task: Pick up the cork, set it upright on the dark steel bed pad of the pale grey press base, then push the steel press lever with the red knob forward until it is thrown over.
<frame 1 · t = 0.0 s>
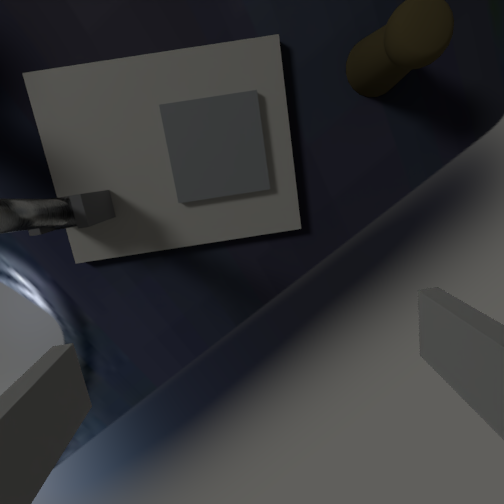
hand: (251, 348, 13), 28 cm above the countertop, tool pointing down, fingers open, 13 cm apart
cork: (372, 67, 37), on the countertop
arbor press: (164, 158, 38), on the countertop
press lever: (6, 215, 24), point 15 cm above the countertop, hinge at -5.0°
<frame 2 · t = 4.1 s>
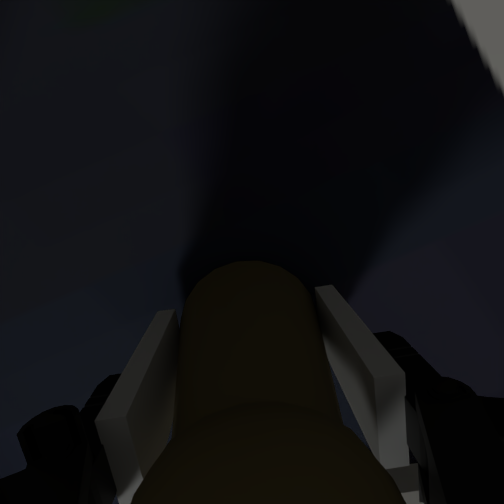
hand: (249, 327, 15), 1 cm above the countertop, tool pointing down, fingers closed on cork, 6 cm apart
cork: (249, 324, 15), point 1 cm above the countertop, touching gripper
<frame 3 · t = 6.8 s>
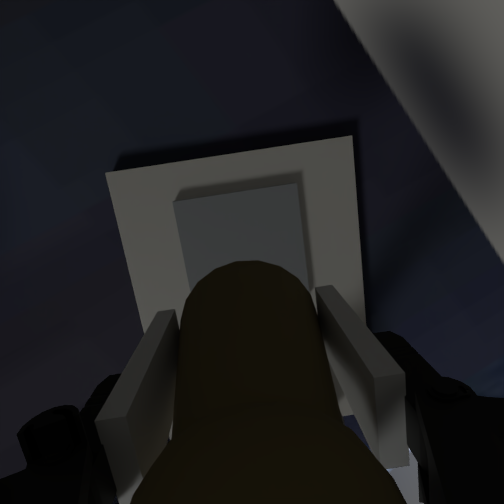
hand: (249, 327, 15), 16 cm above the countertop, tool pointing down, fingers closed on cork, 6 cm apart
cork: (249, 324, 15), point 16 cm above the countertop, touching gripper
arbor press: (253, 308, 32), on the countertop
when the fingers open (4 cm above the countertop, at t = 9.3 s): cork drops 1 cm, resting on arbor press.
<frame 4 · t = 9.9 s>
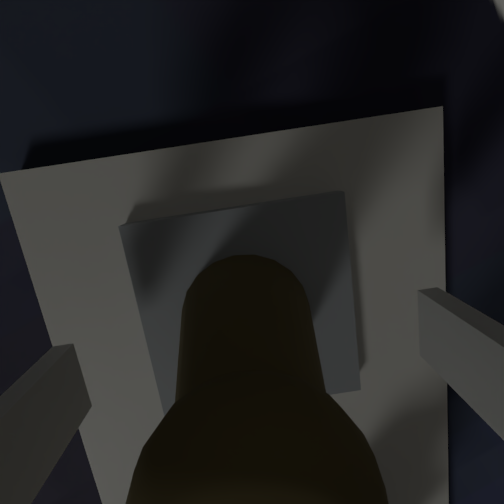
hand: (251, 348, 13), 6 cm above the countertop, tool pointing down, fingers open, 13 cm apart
cork: (246, 314, 16), point 2 cm above the countertop, touching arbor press
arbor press: (262, 391, 20), on the countertop
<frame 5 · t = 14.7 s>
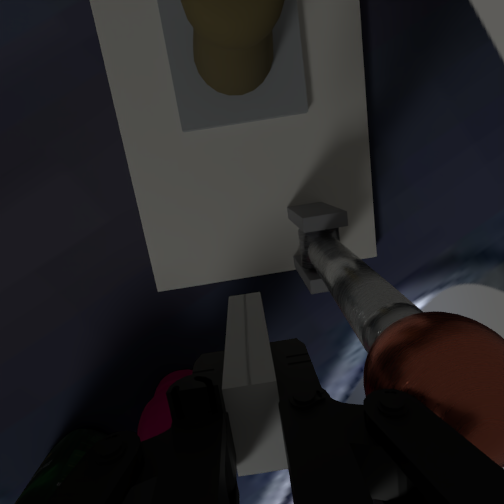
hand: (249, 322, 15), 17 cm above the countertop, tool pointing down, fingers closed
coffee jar: (87, 460, 36), on the countertop
cork: (233, 53, 26), point 2 cm above the countertop, touching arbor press
pepper mill: (186, 394, 35), on the countertop
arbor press: (246, 137, 29), on the countertop
press lever: (353, 284, 17), point 15 cm above the countertop, hinge at -2.8°, touching gripper
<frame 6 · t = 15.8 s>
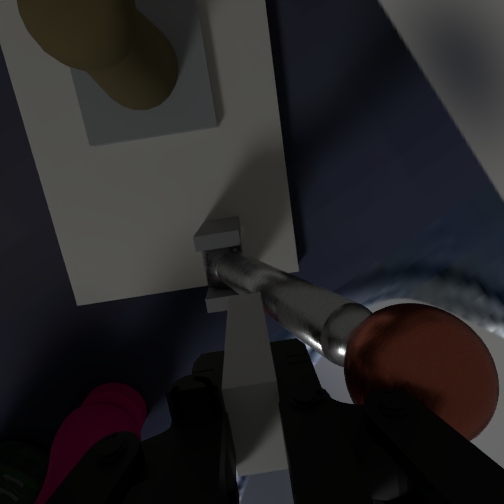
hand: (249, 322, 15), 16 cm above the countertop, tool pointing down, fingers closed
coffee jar: (19, 472, 36), on the countertop
cork: (137, 67, 25), point 2 cm above the countertop, touching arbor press
pepper mill: (117, 407, 35), on the countertop
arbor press: (163, 150, 29), on the countertop
press lever: (280, 295, 17), point 14 cm above the countertop, hinge at 22.0°, touching gripper
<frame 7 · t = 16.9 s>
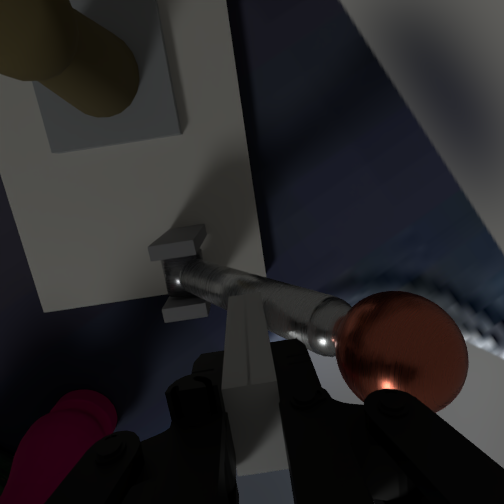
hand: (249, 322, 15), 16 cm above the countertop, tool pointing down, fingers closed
cork: (99, 74, 25), point 2 cm above the countertop, touching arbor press
pepper mill: (87, 414, 35), on the countertop
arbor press: (129, 157, 29), on the countertop
press lever: (253, 297, 18), point 13 cm above the countertop, hinge at 34.0°, touching gripper
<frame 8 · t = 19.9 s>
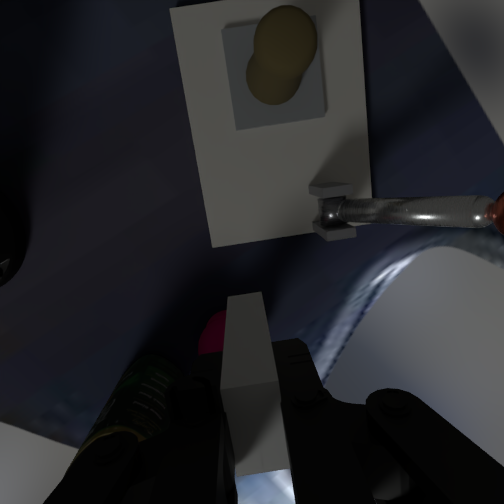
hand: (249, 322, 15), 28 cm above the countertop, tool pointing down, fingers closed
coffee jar: (150, 382, 48), on the countertop
cork: (273, 75, 37), point 2 cm above the countertop, touching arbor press
pepper mill: (228, 330, 46), on the countertop
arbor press: (279, 134, 40), on the countertop
press lever: (410, 211, 30), point 13 cm above the countertop, hinge at 34.1°
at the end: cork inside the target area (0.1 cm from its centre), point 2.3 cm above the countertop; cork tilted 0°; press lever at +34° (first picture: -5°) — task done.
